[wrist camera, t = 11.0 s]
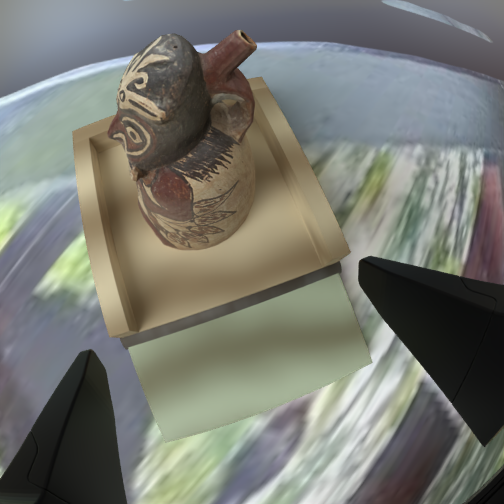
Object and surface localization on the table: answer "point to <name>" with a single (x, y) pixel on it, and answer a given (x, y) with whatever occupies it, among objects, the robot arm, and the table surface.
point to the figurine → (189, 138)
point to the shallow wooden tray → (223, 285)
